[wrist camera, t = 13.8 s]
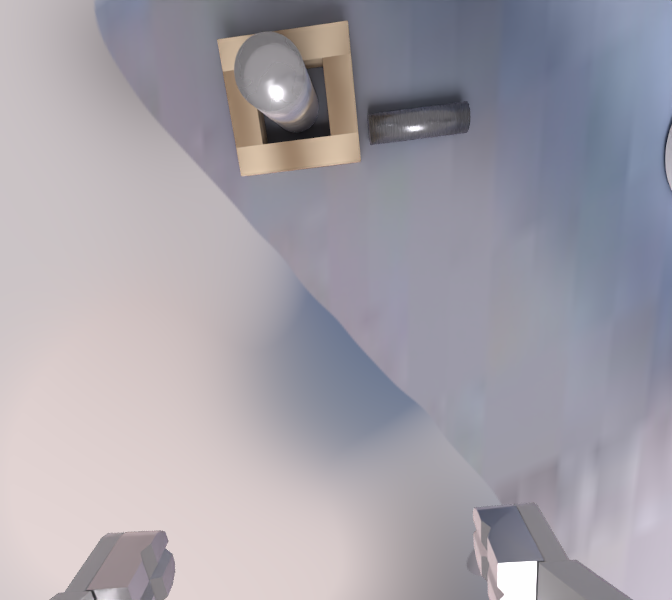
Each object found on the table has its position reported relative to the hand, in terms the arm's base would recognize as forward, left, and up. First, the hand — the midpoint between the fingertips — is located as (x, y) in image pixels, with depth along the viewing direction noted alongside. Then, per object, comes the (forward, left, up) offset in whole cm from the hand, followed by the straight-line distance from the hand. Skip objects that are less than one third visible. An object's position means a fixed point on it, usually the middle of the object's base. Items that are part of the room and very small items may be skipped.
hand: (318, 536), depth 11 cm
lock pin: (-8, -12, -29) cm, 33 cm away
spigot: (+2, -15, -29) cm, 33 cm away
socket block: (+2, -15, -29) cm, 33 cm away
